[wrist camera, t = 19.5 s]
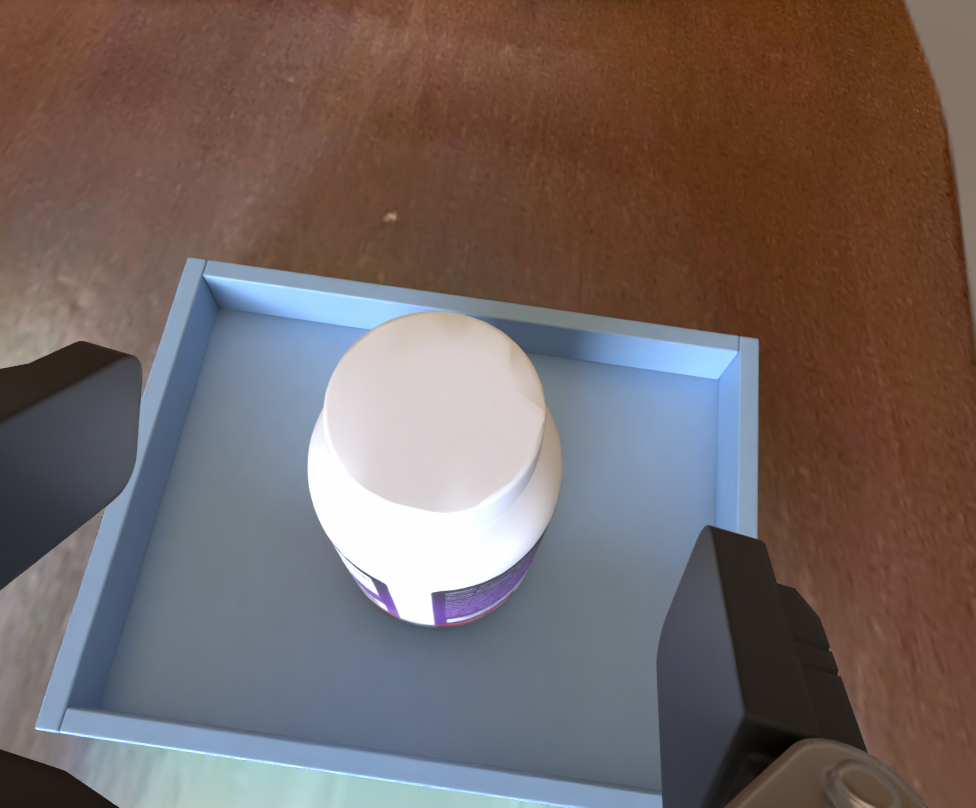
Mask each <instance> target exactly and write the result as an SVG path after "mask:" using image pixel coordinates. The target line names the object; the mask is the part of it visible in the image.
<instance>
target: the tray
mask: <svg viewBox="0 0 976 808" xmlns="http://www.w3.org/2000/svg"><path fill="white" fill-rule="evenodd" d="M425 311H445V312H453V313H459V314H464V315H468V316H471V317H474V318H476V319H479V320H482V321H484V322H486V323H488V324H490V325H492V326H493V327H495V328H497V329H499V330H501V331H502V332H503V333H505V334H506V335H507V336H509V337H510V338H511V339H512V340H513V341H514V342H515V343H516V344H517V345H518V346H519V347H520V348H521V349H522V350H523V352H524V353H525V354H526V355H527V357H528V358H529V359H530V361H531V363H532V364H533V366H534V368H535V370H536V372H537V374H538V377H539V379H540V382H541V385H542V388H543V392H544V396H545V403H546V405H547V407H548V409H549V410H550V412H551V414H552V417H553V419H554V422H555V424H556V427H557V430H558V433H559V437H560V442H561V448H562V457H563V473H562V482H561V488H560V494H559V498H558V502H557V506H556V509H555V511H554V514H553V516H552V519H551V521H550V523H549V525H548V527H547V529H546V532H545V534H544V536H543V538H542V540H541V542H540V545H539V547H538V549H537V551H536V553H535V555H534V558H533V560H532V562H531V564H530V566H529V569H528V571H527V573H526V575H525V576H524V578H523V580H522V581H521V583H520V584H519V586H518V587H517V589H516V590H515V591H514V592H513V594H512V595H511V596H510V597H509V598H508V599H507V600H506V601H505V602H504V603H503V604H502V605H501V606H499V607H498V608H497V609H496V610H494V611H493V612H491V613H490V614H488V615H486V616H484V617H483V618H481V619H479V620H476V621H474V622H471V623H468V624H465V625H460V626H456V627H448V628H427V627H420V626H416V625H412V624H408V623H406V622H403V621H401V620H399V619H397V618H395V617H393V616H391V615H389V614H388V613H386V612H385V611H383V610H382V609H381V608H379V607H378V606H377V605H376V604H374V603H373V602H372V601H371V600H370V599H369V598H368V597H367V596H366V594H365V593H364V592H363V591H362V589H361V588H360V587H359V585H358V584H357V582H356V581H355V579H354V577H353V576H352V575H351V573H350V572H349V570H348V568H347V567H346V565H345V564H344V562H343V560H342V559H341V557H340V555H339V554H338V552H337V550H336V549H335V547H334V545H333V544H332V542H331V541H330V539H329V538H328V536H327V534H326V532H325V531H324V529H323V527H322V525H321V523H320V521H319V518H318V516H317V514H316V511H315V508H314V505H313V501H312V498H311V493H310V489H309V482H308V453H309V446H310V441H311V436H312V433H313V430H314V427H315V424H316V422H317V420H318V417H319V415H320V413H321V411H322V409H323V407H324V399H325V394H326V390H327V387H328V384H329V381H330V378H331V376H332V374H333V372H334V370H335V368H336V366H337V365H338V363H339V361H340V360H341V358H342V357H343V356H344V354H345V353H346V352H347V351H348V349H349V348H350V347H351V346H352V345H353V344H354V343H355V342H356V341H357V340H358V339H360V338H361V337H362V336H363V335H365V334H366V333H367V332H368V331H370V330H372V329H373V328H375V327H376V326H378V325H380V324H382V323H384V322H386V321H388V320H391V319H394V318H396V317H400V316H403V315H407V314H412V313H416V312H425ZM758 423H759V339H757V338H751V337H744V336H741V337H739V336H737V335H730V334H723V333H716V332H709V331H702V330H695V329H688V328H681V327H674V326H667V325H660V324H653V323H646V322H639V321H632V320H625V319H618V318H611V317H604V316H597V315H590V314H583V313H576V312H570V311H563V310H556V309H549V308H542V307H535V306H528V305H521V304H514V303H507V302H500V301H493V300H486V299H479V298H472V297H465V296H458V295H451V294H444V293H437V292H430V291H423V290H416V289H409V288H402V287H395V286H388V285H381V284H374V283H367V282H360V281H354V280H347V279H340V278H333V277H326V276H319V275H312V274H305V273H298V272H291V271H284V270H277V269H270V268H263V267H256V266H249V265H242V264H235V263H228V262H221V261H214V260H208V261H207V260H206V259H200V258H193V257H188V259H187V262H186V265H185V268H184V271H183V274H182V277H181V280H180V283H179V286H178V289H177V292H176V295H175V298H174V301H173V305H172V308H171V311H170V314H169V317H168V320H167V323H166V326H165V329H164V332H163V335H162V338H161V341H160V344H159V347H158V350H157V354H156V357H155V360H154V363H153V366H152V369H151V372H150V375H149V378H148V381H147V384H146V387H145V390H144V393H143V396H142V399H141V403H140V416H139V430H138V444H137V457H136V463H135V467H134V470H133V473H132V475H131V478H130V480H129V482H128V484H127V485H126V487H125V488H124V490H123V491H122V493H121V494H120V495H119V496H118V497H117V498H116V499H115V500H114V501H112V502H111V503H110V504H109V505H107V507H106V510H105V513H104V516H103V519H102V522H101V525H100V528H99V531H98V534H97V537H96V540H95V543H94V547H93V550H92V553H91V556H90V559H89V562H88V565H87V568H86V571H85V574H84V577H83V580H82V583H81V586H80V589H79V593H78V596H77V599H76V602H75V605H74V608H73V611H72V614H71V617H70V620H69V623H68V626H67V629H66V632H65V635H64V638H63V642H62V645H61V648H60V651H59V654H58V657H57V660H56V663H55V666H54V669H53V672H52V675H51V678H50V681H49V684H48V687H47V691H46V694H45V697H44V700H43V703H42V706H41V709H40V712H39V715H38V718H37V721H36V724H35V729H37V730H42V731H48V732H55V733H62V734H69V735H76V736H83V737H89V738H96V739H103V740H110V741H117V742H124V743H130V744H137V745H144V746H151V747H158V748H165V749H171V750H178V751H185V752H192V753H199V754H206V755H212V756H219V757H226V758H233V759H240V760H247V761H253V762H260V763H267V764H274V765H281V766H288V767H294V768H301V769H308V770H315V771H322V772H329V773H335V774H342V775H349V776H356V777H363V778H370V779H376V780H383V781H390V782H397V783H404V784H411V785H417V786H424V787H431V788H438V789H445V790H451V791H458V792H465V793H472V794H479V795H486V796H492V797H499V798H506V799H513V800H520V801H527V802H533V803H540V804H547V805H554V806H561V807H568V808H663V807H662V784H661V761H660V738H659V715H658V692H657V669H656V660H657V650H658V644H659V639H660V635H661V631H662V627H663V624H664V621H665V618H666V615H667V613H668V610H669V608H670V605H671V603H672V600H673V598H674V595H675V593H676V590H677V588H678V585H679V583H680V580H681V578H682V575H683V573H684V570H685V568H686V565H687V563H688V560H689V558H690V555H691V553H692V550H693V548H694V545H695V543H696V541H697V538H698V536H699V534H700V532H701V531H702V529H703V528H704V527H705V526H706V525H711V526H714V527H717V528H721V529H724V530H728V531H731V532H735V533H738V534H741V535H745V536H748V537H752V538H755V539H758Z"/></svg>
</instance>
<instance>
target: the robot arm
mask: <svg viewBox="0 0 976 808" xmlns="http://www.w3.org/2000/svg"><path fill="white" fill-rule="evenodd" d="M141 388H142V368H141V364H140V362H139V360H138V359H137V357H135V356H133V355H130V354H126V353H123V352H119V351H116V350H112V349H109V348H106V347H102V346H99V345H95V344H92V343H89V342H85V341H78V342H75V343H73V344H71V345H69V346H66V347H64V348H62V349H60V350H58V351H55V352H53V353H51V354H49V355H47V356H44V357H42V358H40V359H38V360H36V361H33V362H31V363H29V364H24V365H18V366H13V367H8V368H3V369H0V590H1V589H3V588H4V587H5V586H6V585H8V584H9V583H10V582H11V581H13V580H14V579H15V578H16V577H18V576H19V575H20V574H21V573H23V572H24V571H25V570H27V569H28V568H29V567H30V566H32V565H33V564H34V563H35V562H37V561H38V560H39V559H40V558H42V557H43V556H44V555H45V554H47V553H48V552H49V551H50V550H52V549H53V548H54V547H56V546H57V545H58V544H59V543H61V542H62V541H63V540H64V539H66V538H67V537H68V536H69V535H71V534H72V533H73V532H74V531H76V530H77V529H78V528H79V527H81V526H82V525H83V524H85V523H86V522H87V521H88V520H90V519H91V518H92V517H93V516H95V515H96V514H97V513H98V512H100V511H101V510H102V509H103V508H105V507H106V506H107V505H109V504H110V503H111V502H112V501H114V500H115V499H116V498H117V497H118V496H119V495H120V494H121V493H122V491H123V490H124V488H125V487H126V485H127V484H128V482H129V480H130V478H131V475H132V473H133V470H134V467H135V463H136V457H137V444H138V430H139V416H140V402H141ZM829 647H830V646H829V643H828V640H827V637H826V634H825V632H824V629H823V626H822V623H821V620H820V618H819V616H818V615H817V614H816V613H815V612H814V611H813V609H812V608H811V607H810V606H809V605H808V603H807V602H806V601H805V600H804V599H803V598H802V596H801V595H800V594H799V593H798V592H797V590H796V589H795V588H791V587H788V586H785V585H781V584H778V583H777V582H776V579H775V576H774V572H773V569H772V565H771V562H770V559H769V555H768V552H767V548H766V545H765V543H764V542H763V541H762V540H759V539H755V538H752V537H748V536H745V535H741V534H738V533H735V532H731V531H728V530H724V529H721V528H717V527H714V526H711V525H706V526H705V527H704V528H703V529H702V531H701V532H700V534H699V536H698V538H697V541H696V543H695V545H694V548H693V550H692V553H691V555H690V558H689V560H688V563H687V565H686V568H685V570H684V573H683V575H682V578H681V580H680V583H679V585H678V588H677V590H676V593H675V595H674V598H673V600H672V603H671V605H670V608H669V610H668V613H667V615H666V618H665V621H664V624H663V627H662V631H661V635H660V639H659V644H658V650H657V660H656V669H657V692H658V715H659V738H660V761H661V784H662V807H663V808H928V807H927V806H926V804H925V803H924V802H923V800H922V799H921V797H920V796H919V795H918V794H917V793H916V792H915V790H914V789H913V788H912V787H911V786H910V785H909V784H908V783H907V782H906V781H905V780H904V779H903V778H902V777H901V776H900V775H898V774H897V773H896V772H895V771H893V770H892V769H891V768H890V767H888V766H887V765H885V764H884V763H882V762H881V761H879V760H878V759H876V758H875V757H873V756H871V755H869V754H868V752H867V749H866V746H865V744H864V741H863V738H862V735H861V732H860V730H859V727H858V724H857V721H856V718H855V716H854V713H853V710H852V707H851V704H850V702H849V699H848V696H847V693H846V690H845V688H844V685H843V682H842V679H841V677H840V676H837V673H838V668H837V665H836V662H835V660H834V657H833V654H832V652H830V651H829ZM0 808H119V807H118V806H116V805H115V804H113V803H112V802H110V801H109V800H107V799H106V798H104V797H103V796H101V795H100V794H98V793H97V792H95V791H94V790H93V789H91V788H90V787H88V786H87V785H85V784H84V783H82V782H81V781H79V780H78V779H76V778H75V777H73V776H72V775H71V774H69V773H68V772H66V771H64V770H61V769H58V768H55V767H52V766H49V765H46V764H43V763H40V762H37V761H34V760H31V759H28V758H25V757H22V756H19V755H16V754H13V753H10V752H7V751H4V750H0Z"/></svg>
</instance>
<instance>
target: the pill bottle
mask: <svg viewBox="0 0 976 808" xmlns="http://www.w3.org/2000/svg"><path fill="white" fill-rule="evenodd" d="M562 473H563V457H562V448H561V442H560V437H559V433H558V430H557V427H556V424H555V422H554V419H553V417H552V414H551V412H550V410H549V409H548V407H547V405H546V403H545V396H544V392H543V388H542V385H541V382H540V379H539V377H538V374H537V372H536V370H535V368H534V366H533V364H532V363H531V361H530V359H529V358H528V357H527V355H526V354H525V353H524V352H523V350H522V349H521V348H520V347H519V346H518V345H517V344H516V343H515V342H514V341H513V340H512V339H511V338H510V337H509V336H507V335H506V334H505V333H503V332H502V331H501V330H499V329H497V328H495V327H493V326H492V325H490V324H488V323H486V322H484V321H482V320H479V319H476V318H474V317H471V316H468V315H464V314H459V313H453V312H445V311H425V312H416V313H412V314H407V315H403V316H400V317H396V318H394V319H391V320H388V321H386V322H384V323H382V324H380V325H378V326H376V327H375V328H373V329H372V330H370V331H368V332H367V333H366V334H365V335H363V336H362V337H361V338H360V339H358V340H357V341H356V342H355V343H354V344H353V345H352V346H351V347H350V348H349V349H348V351H347V352H346V353H345V354H344V356H343V357H342V358H341V360H340V361H339V363H338V365H337V366H336V368H335V370H334V372H333V374H332V376H331V378H330V381H329V384H328V387H327V390H326V394H325V399H324V407H323V409H322V411H321V413H320V415H319V417H318V420H317V422H316V424H315V427H314V430H313V433H312V436H311V441H310V446H309V453H308V482H309V489H310V493H311V498H312V501H313V505H314V508H315V511H316V514H317V516H318V518H319V521H320V523H321V525H322V527H323V529H324V531H325V532H326V534H327V536H328V538H329V539H330V541H331V542H332V544H333V545H334V547H335V549H336V550H337V552H338V554H339V555H340V557H341V559H342V560H343V562H344V564H345V565H346V567H347V568H348V570H349V572H350V573H351V575H352V576H353V577H354V579H355V581H356V582H357V584H358V585H359V587H360V588H361V589H362V591H363V592H364V593H365V594H366V596H367V597H368V598H369V599H370V600H371V601H372V602H373V603H374V604H376V605H377V606H378V607H379V608H381V609H382V610H383V611H385V612H386V613H388V614H389V615H391V616H393V617H395V618H397V619H399V620H401V621H403V622H406V623H408V624H412V625H416V626H420V627H427V628H448V627H456V626H460V625H465V624H468V623H471V622H474V621H476V620H479V619H481V618H483V617H484V616H486V615H488V614H490V613H491V612H493V611H494V610H496V609H497V608H498V607H499V606H501V605H502V604H503V603H504V602H505V601H506V600H507V599H508V598H509V597H510V596H511V595H512V594H513V592H514V591H515V590H516V589H517V587H518V586H519V584H520V583H521V581H522V580H523V578H524V576H525V575H526V573H527V571H528V569H529V566H530V564H531V562H532V560H533V558H534V555H535V553H536V551H537V549H538V547H539V545H540V542H541V540H542V538H543V536H544V534H545V532H546V529H547V527H548V525H549V523H550V521H551V519H552V516H553V514H554V511H555V509H556V506H557V502H558V498H559V494H560V488H561V482H562Z"/></svg>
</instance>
